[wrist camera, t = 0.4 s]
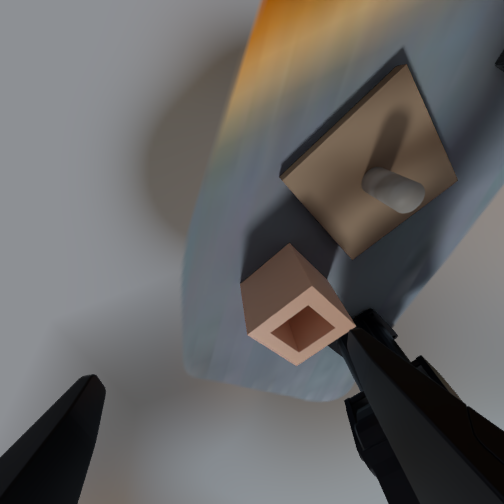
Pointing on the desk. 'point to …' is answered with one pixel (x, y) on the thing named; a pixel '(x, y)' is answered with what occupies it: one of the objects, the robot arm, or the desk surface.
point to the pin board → (373, 166)
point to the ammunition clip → (500, 62)
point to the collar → (292, 307)
